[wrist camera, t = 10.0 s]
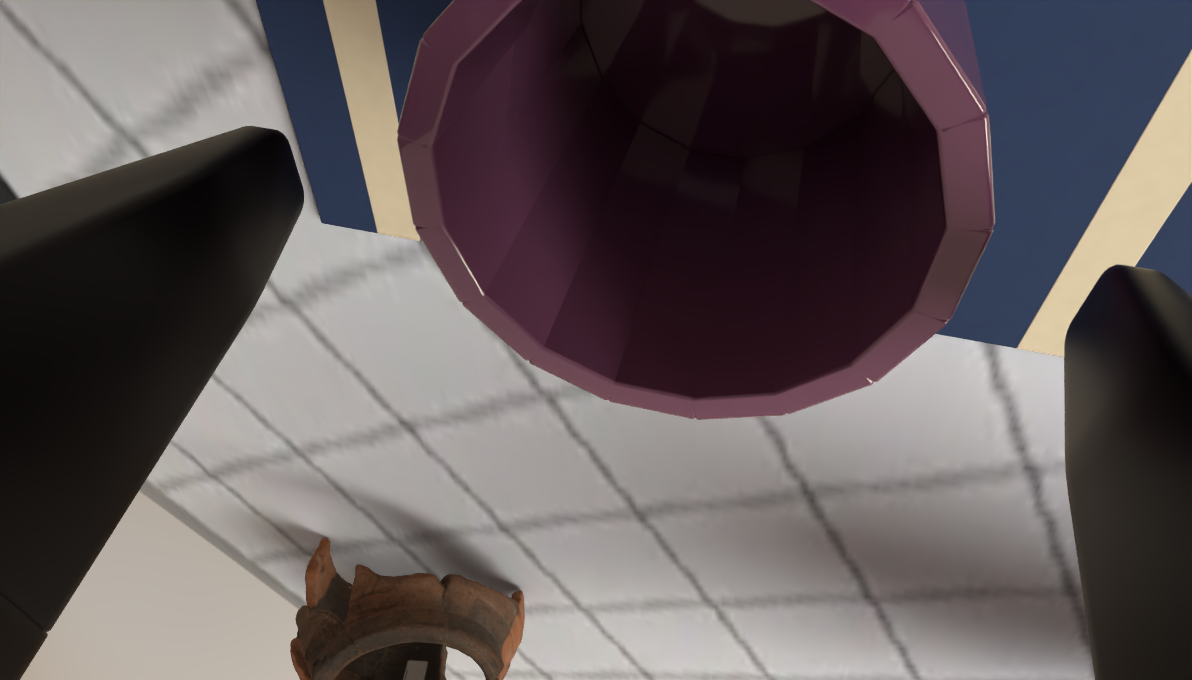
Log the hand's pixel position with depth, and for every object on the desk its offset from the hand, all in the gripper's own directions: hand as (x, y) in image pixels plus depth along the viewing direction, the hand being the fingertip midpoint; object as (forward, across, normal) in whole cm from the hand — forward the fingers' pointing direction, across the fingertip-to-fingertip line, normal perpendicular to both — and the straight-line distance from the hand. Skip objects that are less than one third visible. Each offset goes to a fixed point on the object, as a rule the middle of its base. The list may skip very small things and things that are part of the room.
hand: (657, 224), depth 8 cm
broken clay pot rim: (+8, +10, +27) cm, 30 cm away
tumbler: (+7, 0, 0) cm, 7 cm away
